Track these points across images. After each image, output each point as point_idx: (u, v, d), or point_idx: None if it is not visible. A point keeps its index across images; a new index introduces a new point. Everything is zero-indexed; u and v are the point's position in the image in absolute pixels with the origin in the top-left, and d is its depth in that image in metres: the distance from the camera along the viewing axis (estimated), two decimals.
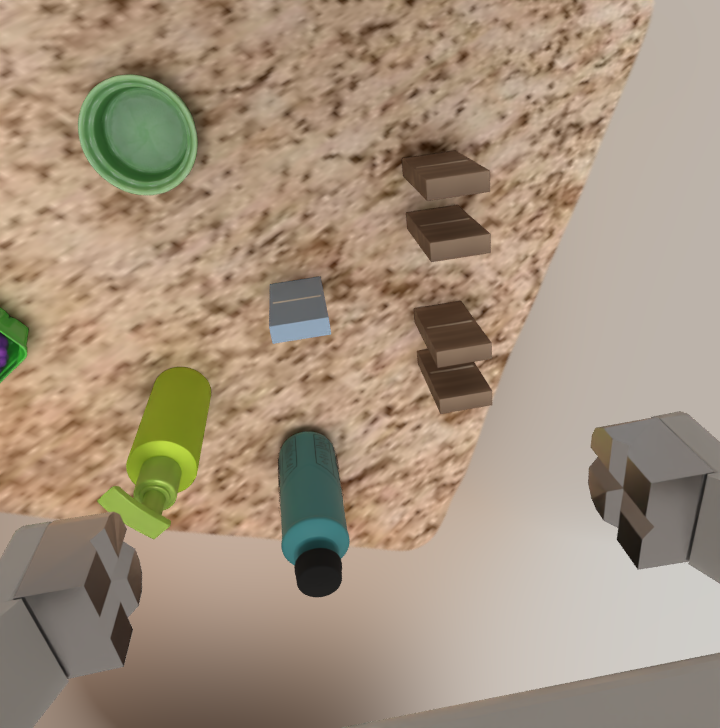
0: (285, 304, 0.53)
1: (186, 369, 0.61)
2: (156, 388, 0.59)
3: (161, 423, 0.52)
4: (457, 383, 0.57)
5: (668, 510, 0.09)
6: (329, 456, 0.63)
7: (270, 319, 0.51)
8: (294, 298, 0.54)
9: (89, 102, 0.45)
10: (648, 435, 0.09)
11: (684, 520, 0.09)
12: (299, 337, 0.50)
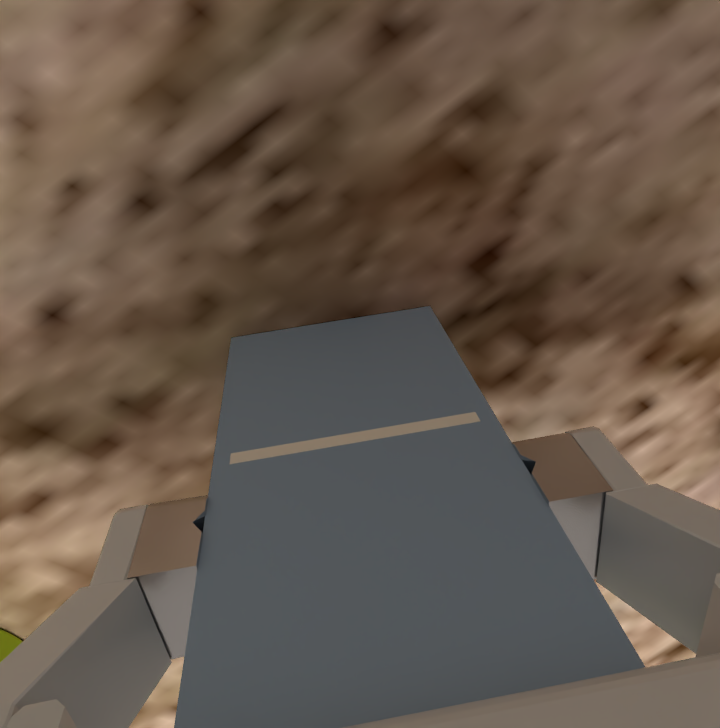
0: (296, 475, 0.10)
1: None
2: None
3: None
4: None
5: (570, 528, 0.09)
6: None
7: (194, 640, 0.07)
8: (343, 430, 0.11)
9: None
10: (556, 451, 0.09)
11: (587, 538, 0.09)
12: None
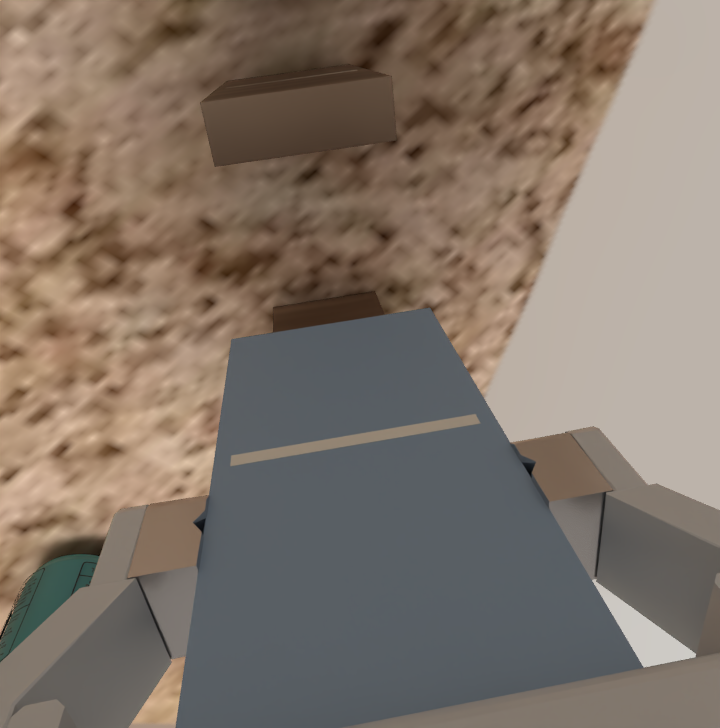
0: (297, 477, 0.10)
1: None
2: None
3: None
4: None
5: (570, 529, 0.09)
6: None
7: (195, 643, 0.07)
8: (344, 432, 0.11)
9: None
10: (556, 451, 0.09)
11: (587, 538, 0.09)
12: None
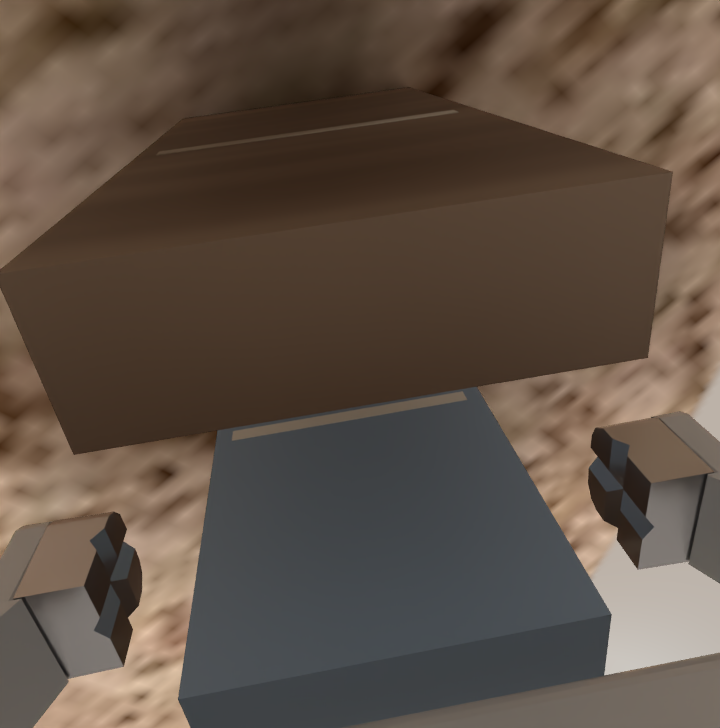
0: (294, 449, 0.10)
1: None
2: None
3: None
4: None
5: (668, 510, 0.09)
6: None
7: (200, 592, 0.08)
8: None
9: None
10: (648, 435, 0.09)
11: (684, 520, 0.09)
12: None
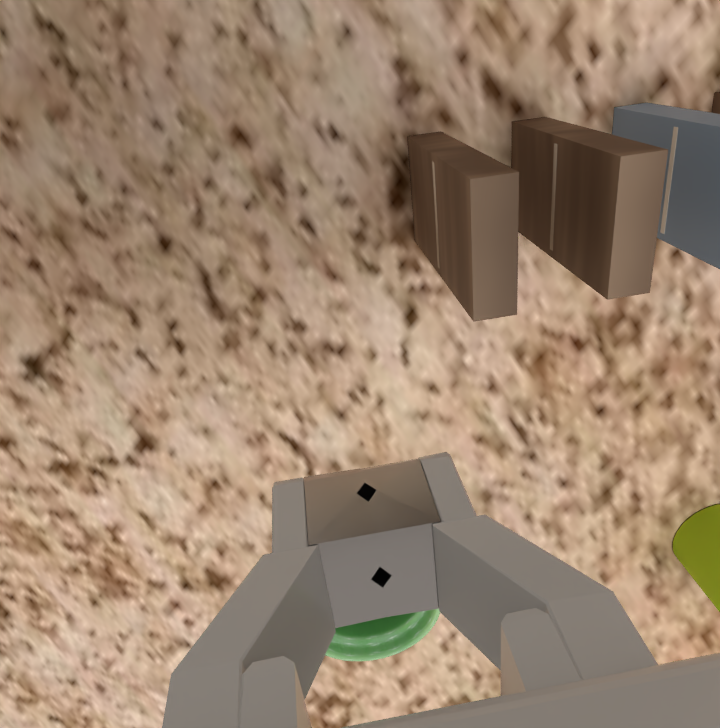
0: (676, 211, 0.25)
1: (681, 533, 0.42)
2: None
3: None
4: None
5: (403, 559, 0.09)
6: None
7: (714, 263, 0.23)
8: (664, 185, 0.25)
9: (328, 650, 0.38)
10: (400, 479, 0.09)
11: (422, 569, 0.09)
12: None
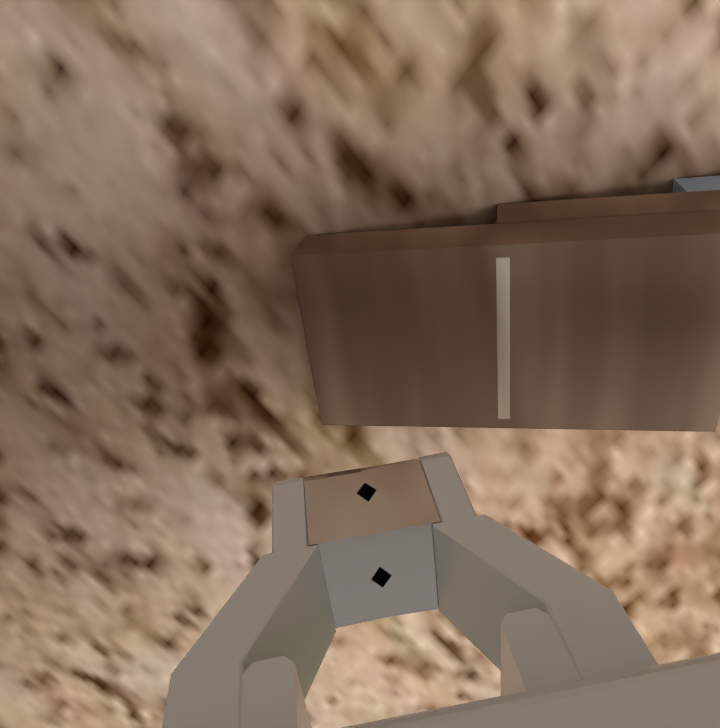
0: None
1: None
2: None
3: None
4: None
5: (402, 559, 0.09)
6: None
7: None
8: None
9: None
10: (400, 479, 0.09)
11: (422, 569, 0.09)
12: None
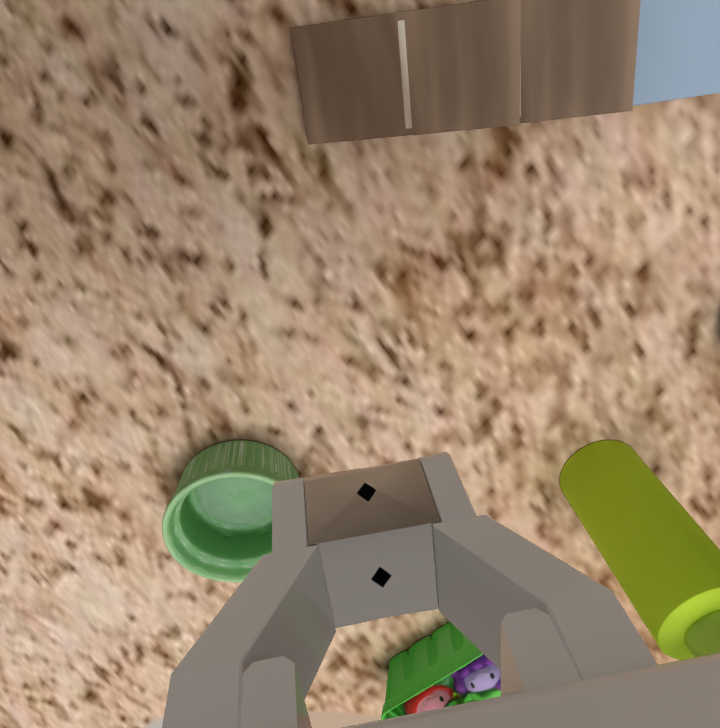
0: (642, 71, 0.27)
1: (566, 469, 0.42)
2: (582, 523, 0.41)
3: (634, 591, 0.34)
4: None
5: (402, 560, 0.09)
6: None
7: (707, 92, 0.27)
8: None
9: (200, 569, 0.38)
10: (399, 479, 0.09)
11: (422, 569, 0.09)
12: None
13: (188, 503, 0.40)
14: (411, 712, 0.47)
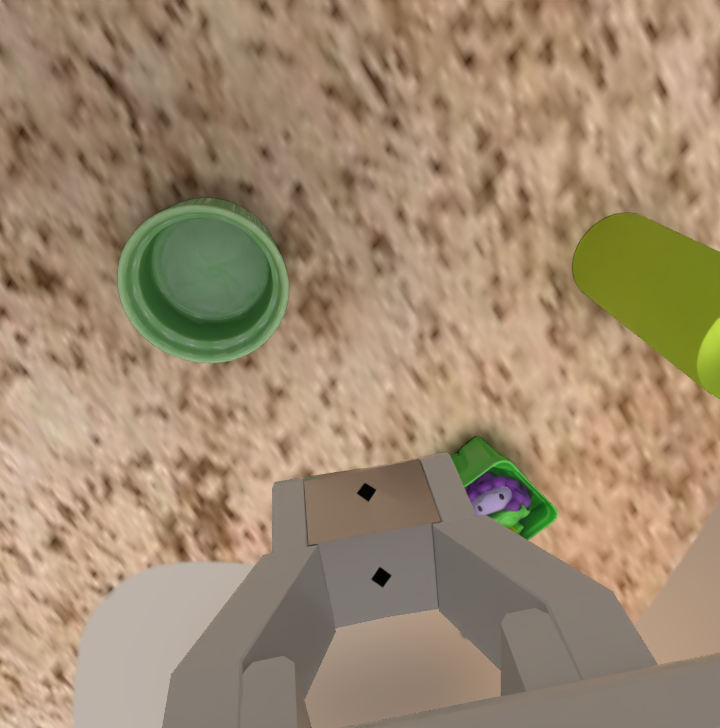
0: None
1: (579, 248, 0.38)
2: (599, 303, 0.37)
3: (666, 327, 0.29)
4: None
5: (402, 560, 0.09)
6: None
7: None
8: None
9: (164, 344, 0.33)
10: (399, 479, 0.09)
11: (422, 569, 0.09)
12: None
13: (151, 279, 0.35)
14: None
